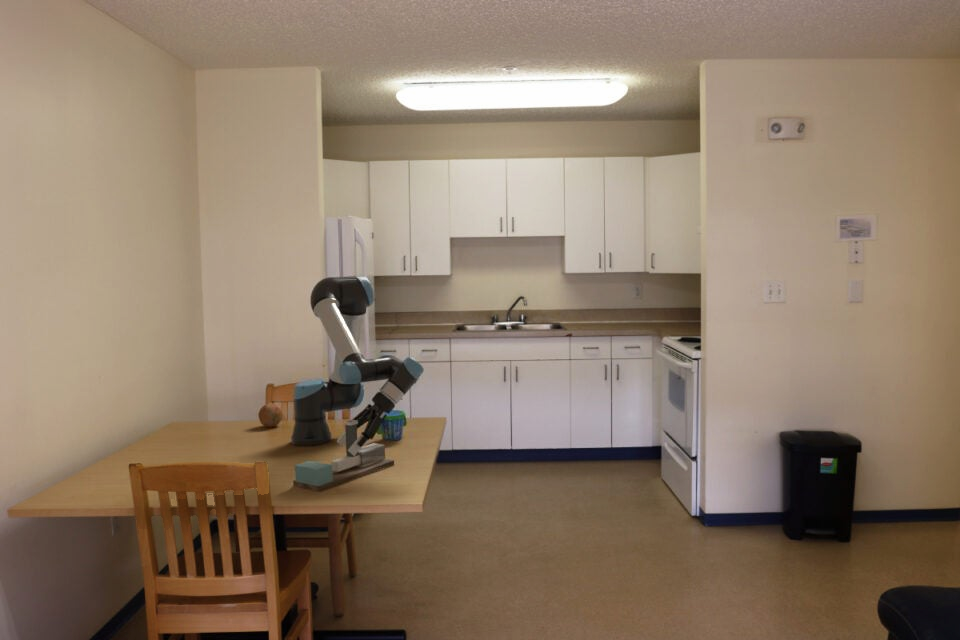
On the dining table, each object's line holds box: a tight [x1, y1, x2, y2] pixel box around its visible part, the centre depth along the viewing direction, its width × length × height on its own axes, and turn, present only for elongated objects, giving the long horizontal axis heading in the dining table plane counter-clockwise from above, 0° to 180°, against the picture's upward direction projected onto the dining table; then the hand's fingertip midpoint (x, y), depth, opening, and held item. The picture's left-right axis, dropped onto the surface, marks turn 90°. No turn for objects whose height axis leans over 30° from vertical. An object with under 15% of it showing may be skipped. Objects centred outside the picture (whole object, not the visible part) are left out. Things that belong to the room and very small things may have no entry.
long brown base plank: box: [292, 442, 395, 492], centre depth 251 cm, size 12×34×6 cm, turn 145°
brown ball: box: [258, 402, 283, 428], centre depth 325 cm, size 10×10×10 cm
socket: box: [294, 460, 333, 486], centre depth 239 cm, size 10×6×5 cm, turn 55°
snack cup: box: [376, 409, 408, 441], centre depth 298 cm, size 16×10×10 cm
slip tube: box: [330, 419, 361, 472], centre depth 255 cm, size 3×22×14 cm, turn 145°
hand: (345, 448), depth 252 cm, fingers open, 13 cm apart
